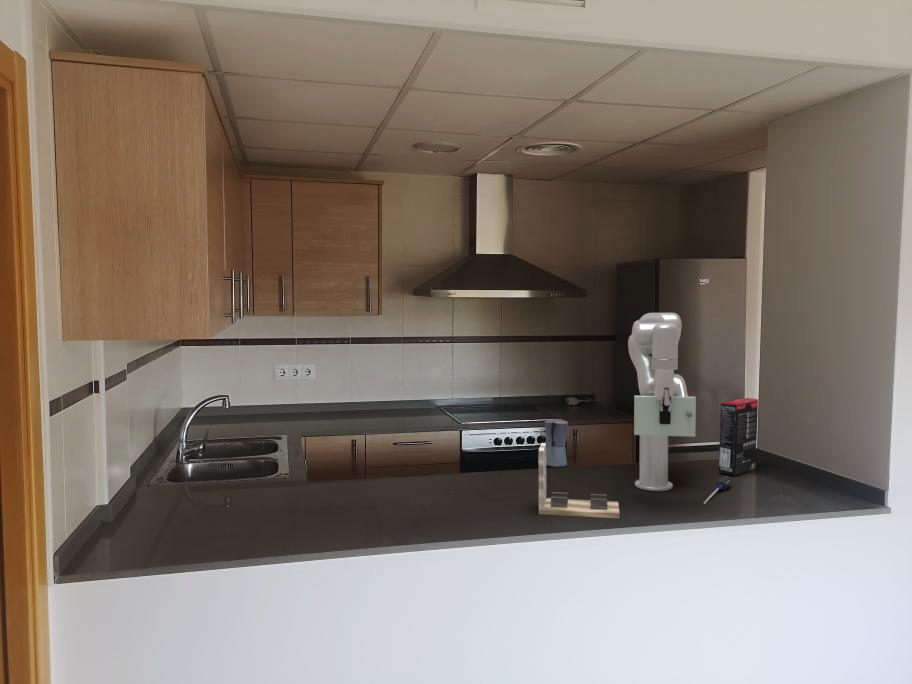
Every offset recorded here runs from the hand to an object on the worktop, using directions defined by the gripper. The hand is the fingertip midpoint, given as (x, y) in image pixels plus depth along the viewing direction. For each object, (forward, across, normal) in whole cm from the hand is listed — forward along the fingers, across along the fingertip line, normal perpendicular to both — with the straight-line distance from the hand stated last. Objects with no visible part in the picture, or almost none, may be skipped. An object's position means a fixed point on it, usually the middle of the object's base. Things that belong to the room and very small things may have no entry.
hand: (664, 422), depth 204 cm
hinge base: (+27, +7, -26) cm, 38 cm away
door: (+4, 0, 0) cm, 4 cm away
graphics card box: (+27, -50, +32) cm, 65 cm away
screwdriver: (+27, -17, +18) cm, 37 cm away
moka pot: (+27, -49, -36) cm, 66 cm away
